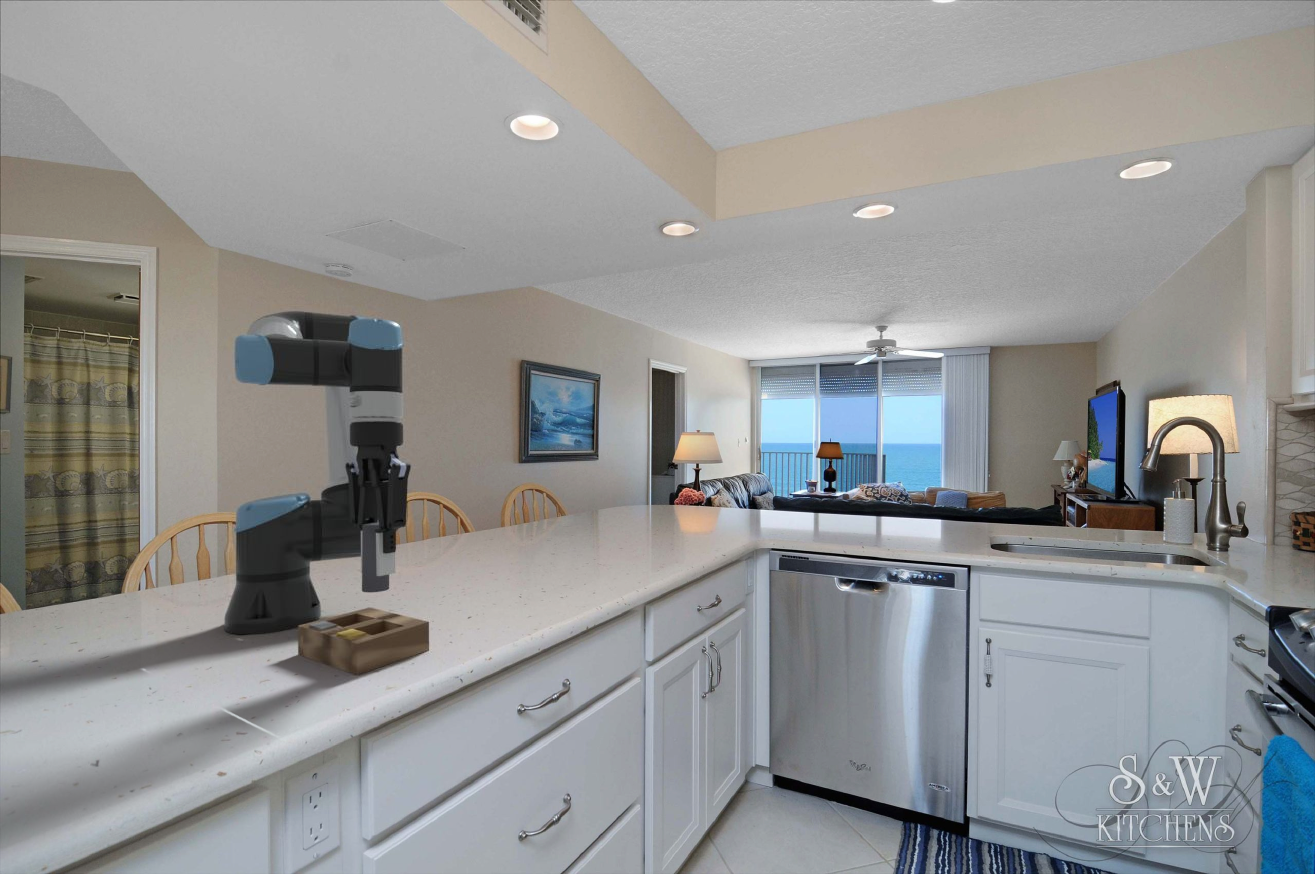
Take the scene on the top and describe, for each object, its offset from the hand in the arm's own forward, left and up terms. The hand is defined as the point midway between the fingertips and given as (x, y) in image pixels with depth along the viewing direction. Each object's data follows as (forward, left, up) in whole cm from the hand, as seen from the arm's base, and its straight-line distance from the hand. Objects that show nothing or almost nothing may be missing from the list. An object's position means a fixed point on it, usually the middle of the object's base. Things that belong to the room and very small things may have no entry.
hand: (378, 572), depth 94 cm
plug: (0, 0, -2) cm, 3 cm away
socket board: (-4, 0, -13) cm, 14 cm away
